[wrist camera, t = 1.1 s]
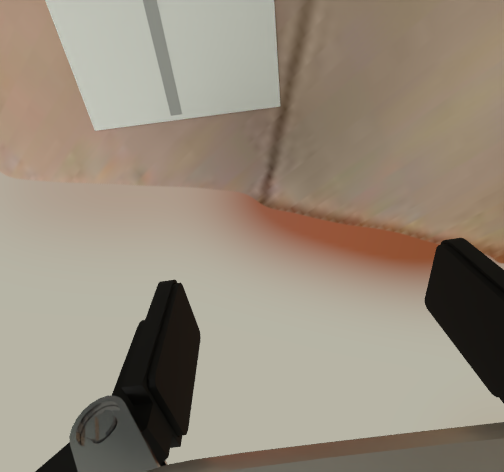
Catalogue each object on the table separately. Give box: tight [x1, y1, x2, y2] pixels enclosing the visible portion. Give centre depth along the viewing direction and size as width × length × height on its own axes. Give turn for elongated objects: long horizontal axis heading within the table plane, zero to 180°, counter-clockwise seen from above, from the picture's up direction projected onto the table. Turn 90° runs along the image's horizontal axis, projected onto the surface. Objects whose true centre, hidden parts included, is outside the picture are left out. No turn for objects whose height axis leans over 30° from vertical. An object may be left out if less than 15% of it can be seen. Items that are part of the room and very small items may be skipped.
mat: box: [45, 0, 280, 131], centre depth 27 cm, size 14×20×1 cm
